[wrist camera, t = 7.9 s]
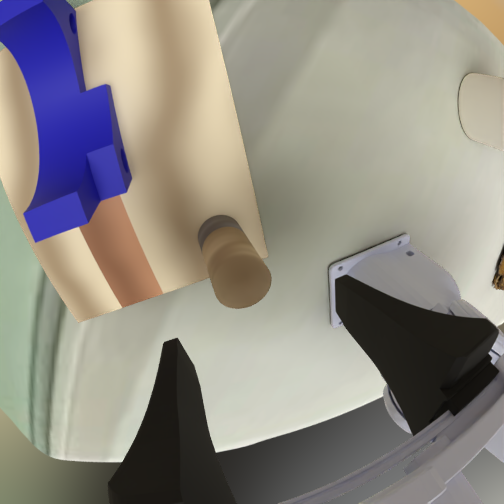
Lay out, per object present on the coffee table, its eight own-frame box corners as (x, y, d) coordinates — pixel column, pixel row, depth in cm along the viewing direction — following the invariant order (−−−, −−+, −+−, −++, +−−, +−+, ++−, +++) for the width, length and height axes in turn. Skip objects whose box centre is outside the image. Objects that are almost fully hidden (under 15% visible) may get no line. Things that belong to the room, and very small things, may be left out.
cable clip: (132, 178, 16) (119, 213, 11) (68, 200, 15) (35, 243, 10) (99, 2, 10) (75, -37, 5) (33, 30, 9) (-12, 9, 4)
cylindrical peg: (235, 208, 19) (265, 251, 14) (245, 246, 21) (275, 296, 16) (192, 223, 19) (206, 272, 14) (205, 260, 20) (223, 315, 15)
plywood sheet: (200, -27, 11) (201, -29, 11) (267, 255, 22) (268, 256, 22) (-24, 71, 8) (-27, 71, 8) (79, 320, 20) (78, 322, 19)
